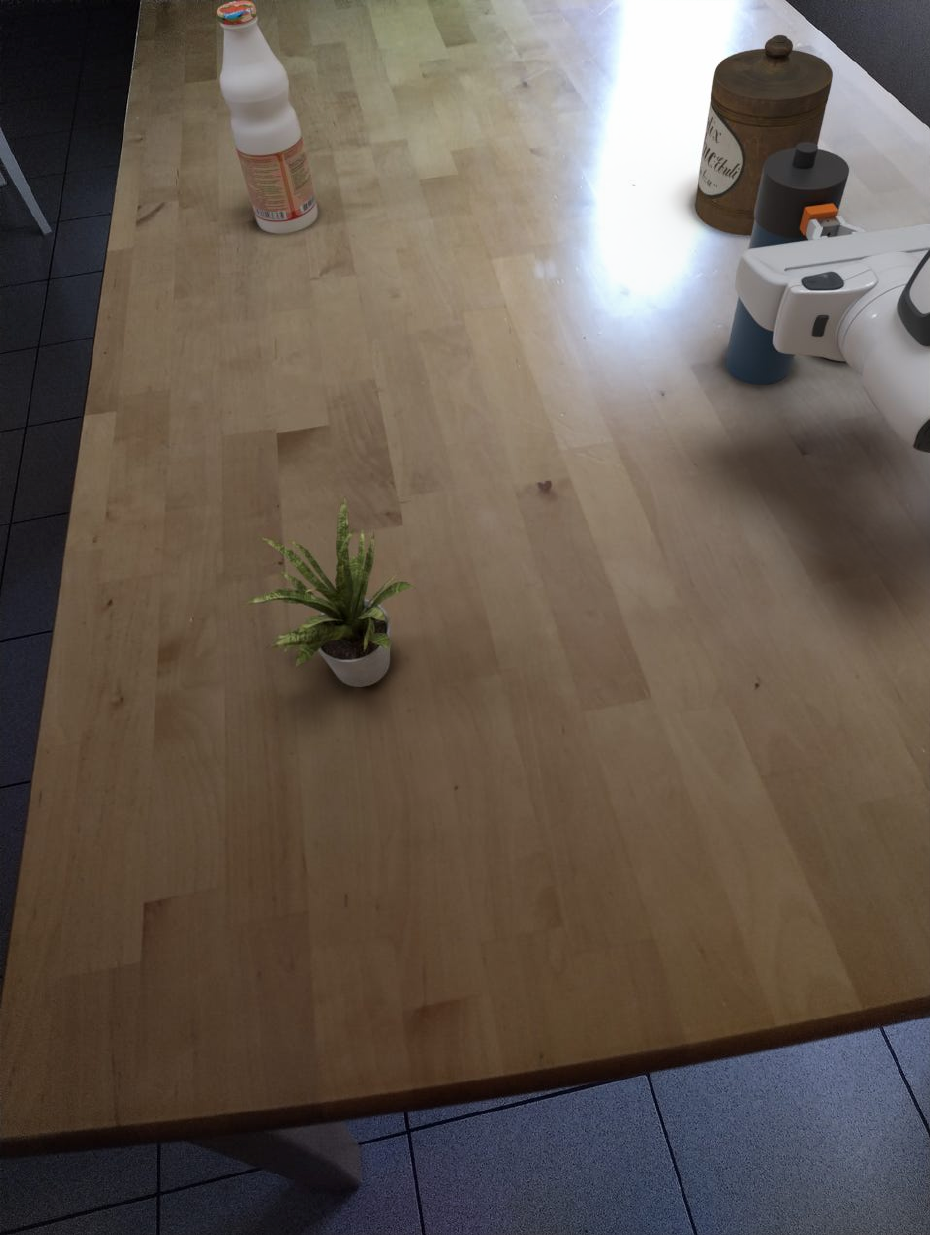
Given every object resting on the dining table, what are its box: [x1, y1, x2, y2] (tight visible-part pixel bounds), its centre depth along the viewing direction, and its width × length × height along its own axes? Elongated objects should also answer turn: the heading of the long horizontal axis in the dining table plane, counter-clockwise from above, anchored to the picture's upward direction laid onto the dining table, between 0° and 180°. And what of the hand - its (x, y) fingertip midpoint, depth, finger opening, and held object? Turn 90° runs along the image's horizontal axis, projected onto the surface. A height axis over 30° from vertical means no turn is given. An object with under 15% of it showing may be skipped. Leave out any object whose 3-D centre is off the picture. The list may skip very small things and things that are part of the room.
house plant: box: [242, 496, 417, 688], centre depth 77 cm, size 14×14×16 cm
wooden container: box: [694, 34, 834, 236], centre depth 115 cm, size 15×15×22 cm
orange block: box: [800, 203, 839, 236], centre depth 84 cm, size 1×3×2 cm, turn 97°
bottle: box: [724, 142, 850, 386], centre depth 94 cm, size 8×8×26 cm
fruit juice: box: [216, 0, 319, 234], centre depth 120 cm, size 9×9×28 cm
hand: (821, 224), depth 83 cm, fingers closed, pressing on orange block
